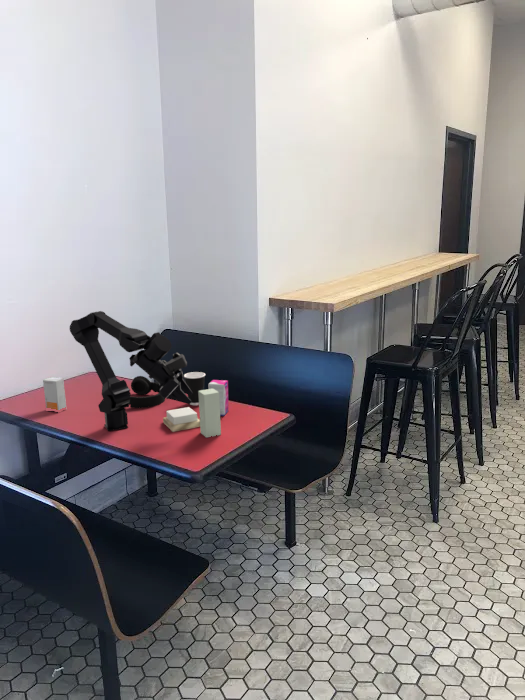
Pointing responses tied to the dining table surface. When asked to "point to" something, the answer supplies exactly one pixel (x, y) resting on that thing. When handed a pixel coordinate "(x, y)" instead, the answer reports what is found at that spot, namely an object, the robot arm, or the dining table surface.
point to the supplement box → (221, 394)
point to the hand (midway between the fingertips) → (191, 398)
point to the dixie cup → (195, 385)
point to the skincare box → (54, 393)
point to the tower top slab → (181, 415)
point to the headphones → (144, 387)
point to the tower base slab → (180, 425)
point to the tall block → (209, 412)
